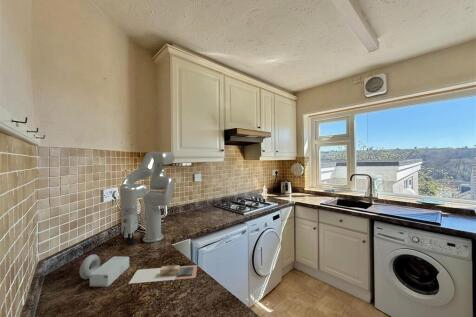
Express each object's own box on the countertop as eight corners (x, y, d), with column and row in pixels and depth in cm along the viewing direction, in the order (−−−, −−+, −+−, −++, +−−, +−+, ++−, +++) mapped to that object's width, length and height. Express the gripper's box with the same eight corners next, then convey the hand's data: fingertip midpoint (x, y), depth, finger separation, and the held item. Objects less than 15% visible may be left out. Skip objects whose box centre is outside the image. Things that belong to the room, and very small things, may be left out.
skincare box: (114, 267, 95) (88, 288, 80) (113, 255, 95) (87, 274, 80) (130, 267, 94) (107, 289, 80) (130, 255, 94) (106, 275, 79)
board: (137, 272, 92) (137, 269, 92) (197, 267, 95) (197, 265, 95) (128, 286, 82) (128, 283, 82) (195, 280, 85) (195, 277, 85)
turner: (159, 278, 85) (159, 271, 85) (162, 270, 91) (162, 264, 91) (192, 275, 87) (192, 269, 87) (193, 268, 92) (193, 262, 92)
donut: (95, 270, 93) (94, 250, 93) (102, 270, 93) (101, 250, 93) (77, 284, 83) (77, 261, 83) (85, 284, 83) (84, 261, 83)
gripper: (130, 214, 94) (131, 251, 95) (141, 205, 109) (142, 237, 110) (114, 215, 93) (115, 252, 94) (127, 206, 108) (128, 238, 109)
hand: (130, 244), depth 102 cm, fingers closed
